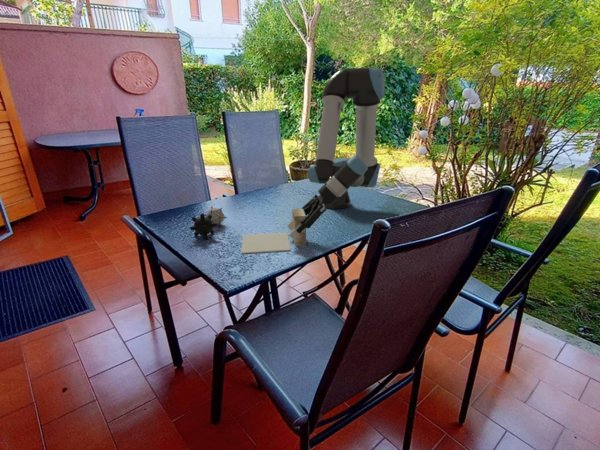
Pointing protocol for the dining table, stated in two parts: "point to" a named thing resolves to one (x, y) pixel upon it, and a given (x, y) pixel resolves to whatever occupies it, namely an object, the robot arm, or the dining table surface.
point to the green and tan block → (297, 217)
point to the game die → (216, 215)
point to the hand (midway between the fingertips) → (290, 232)
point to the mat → (265, 243)
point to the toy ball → (203, 225)
